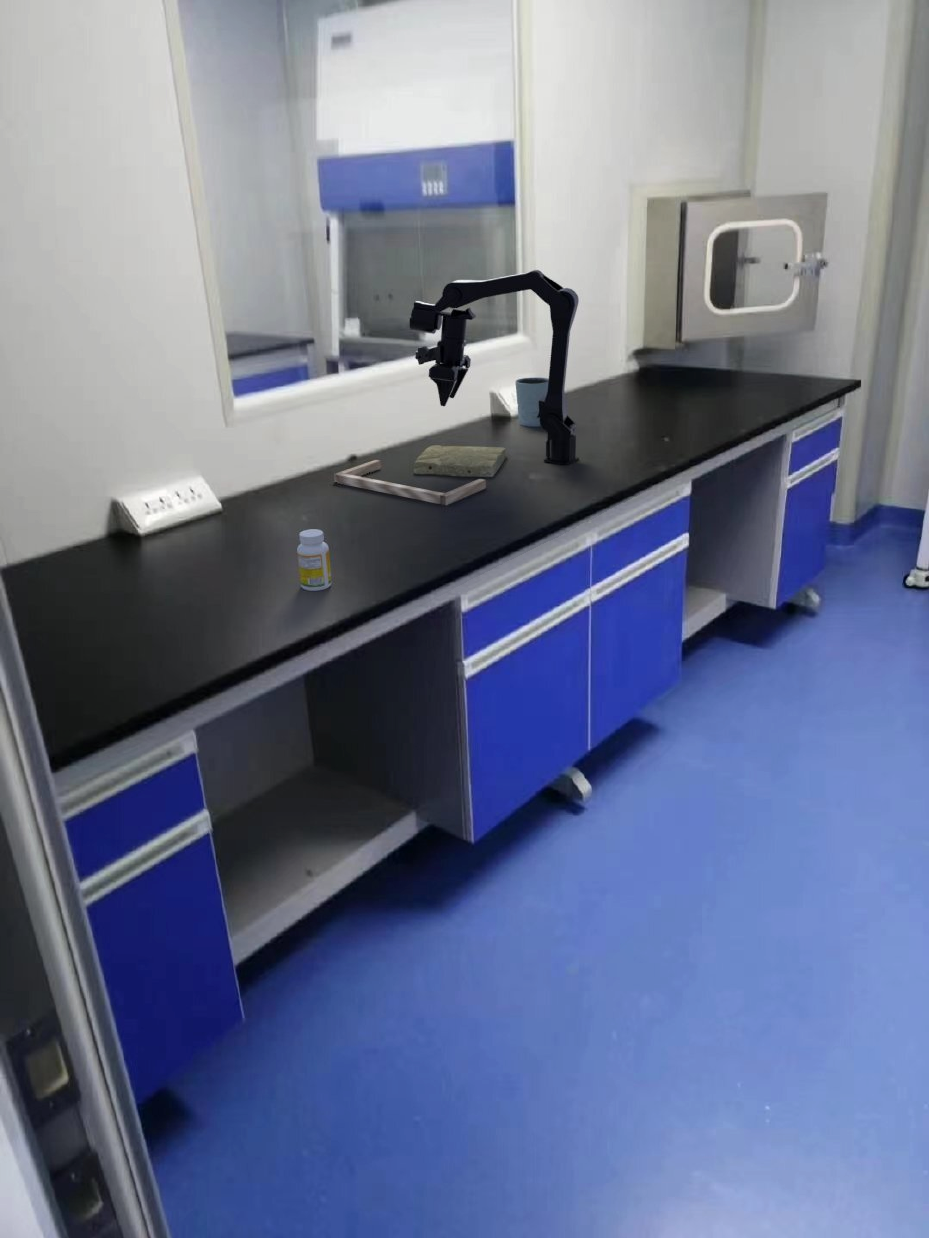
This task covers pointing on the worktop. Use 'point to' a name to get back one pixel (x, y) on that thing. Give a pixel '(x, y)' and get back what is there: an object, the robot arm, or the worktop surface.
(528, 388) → the light blue cup
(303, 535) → the supplement bottle
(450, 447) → the decorative tile
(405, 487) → the frame
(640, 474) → the worktop surface
